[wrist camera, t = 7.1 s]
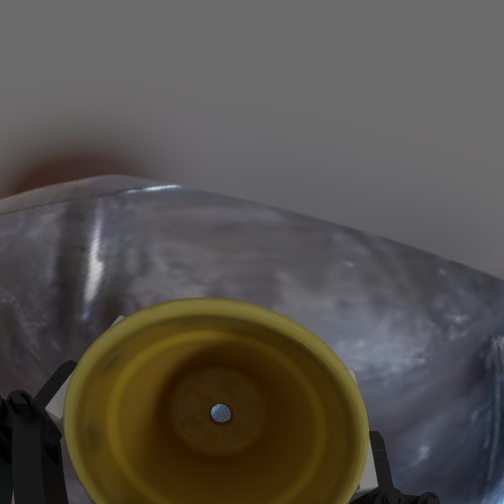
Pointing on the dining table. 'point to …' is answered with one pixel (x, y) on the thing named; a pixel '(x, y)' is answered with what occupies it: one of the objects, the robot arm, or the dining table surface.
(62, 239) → the dining table surface
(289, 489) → the plant pot
